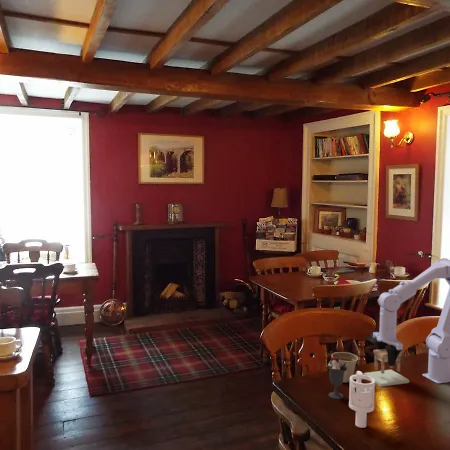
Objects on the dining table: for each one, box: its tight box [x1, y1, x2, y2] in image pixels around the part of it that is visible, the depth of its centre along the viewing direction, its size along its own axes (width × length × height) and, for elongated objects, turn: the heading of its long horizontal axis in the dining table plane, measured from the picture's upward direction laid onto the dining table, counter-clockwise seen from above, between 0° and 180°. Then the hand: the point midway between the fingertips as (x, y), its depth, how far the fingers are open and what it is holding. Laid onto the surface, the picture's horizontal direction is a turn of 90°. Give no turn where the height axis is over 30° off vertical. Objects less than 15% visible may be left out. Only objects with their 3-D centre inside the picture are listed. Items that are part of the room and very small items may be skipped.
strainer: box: [348, 370, 376, 429], centre depth 133 cm, size 7×7×15 cm
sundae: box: [326, 351, 347, 400], centre depth 152 cm, size 7×7×15 cm
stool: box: [372, 349, 402, 374], centre depth 166 cm, size 5×8×7 cm
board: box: [363, 369, 410, 388], centre depth 167 cm, size 12×10×1 cm
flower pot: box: [331, 351, 359, 384], centre depth 166 cm, size 9×9×9 cm
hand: (386, 362), depth 167 cm, fingers closed on stool, 5 cm apart
